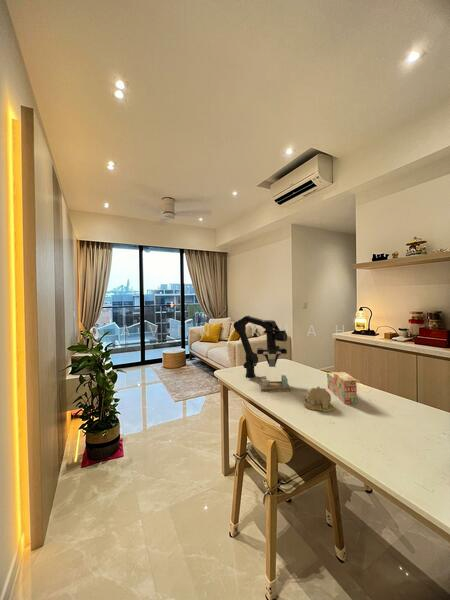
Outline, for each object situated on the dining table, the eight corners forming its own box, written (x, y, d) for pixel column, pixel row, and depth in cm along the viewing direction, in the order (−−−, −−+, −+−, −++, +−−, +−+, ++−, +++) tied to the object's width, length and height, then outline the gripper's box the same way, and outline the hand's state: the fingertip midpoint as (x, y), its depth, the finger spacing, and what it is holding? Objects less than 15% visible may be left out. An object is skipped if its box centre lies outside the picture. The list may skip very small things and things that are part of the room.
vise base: (259, 383, 157) (259, 375, 157) (287, 383, 156) (286, 374, 156) (261, 391, 145) (260, 381, 145) (290, 390, 144) (290, 381, 144)
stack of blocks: (327, 388, 146) (326, 367, 146) (337, 387, 146) (337, 366, 146) (344, 404, 125) (344, 380, 124) (357, 403, 125) (356, 379, 124)
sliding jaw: (281, 382, 154) (281, 375, 154) (285, 382, 154) (285, 375, 153) (283, 387, 146) (283, 379, 146) (287, 387, 146) (287, 379, 146)
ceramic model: (331, 402, 127) (330, 383, 127) (336, 413, 116) (335, 392, 116) (302, 401, 130) (302, 382, 130) (304, 411, 119) (304, 390, 119)
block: (268, 365, 163) (268, 357, 163) (274, 364, 163) (274, 357, 163) (269, 366, 159) (268, 359, 159) (275, 366, 159) (275, 358, 159)
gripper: (257, 343, 153) (258, 368, 154) (287, 342, 152) (288, 367, 152) (256, 339, 164) (257, 363, 165) (285, 338, 163) (285, 362, 163)
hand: (271, 364), depth 161 cm, fingers closed on block, 4 cm apart
